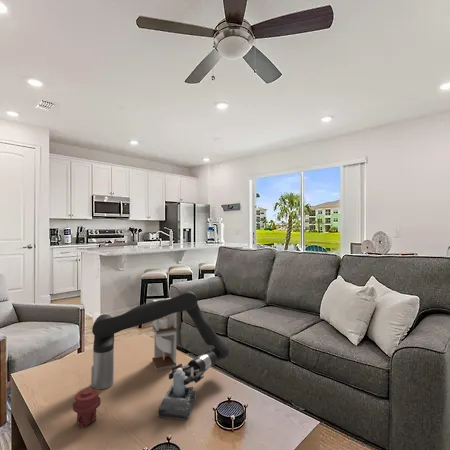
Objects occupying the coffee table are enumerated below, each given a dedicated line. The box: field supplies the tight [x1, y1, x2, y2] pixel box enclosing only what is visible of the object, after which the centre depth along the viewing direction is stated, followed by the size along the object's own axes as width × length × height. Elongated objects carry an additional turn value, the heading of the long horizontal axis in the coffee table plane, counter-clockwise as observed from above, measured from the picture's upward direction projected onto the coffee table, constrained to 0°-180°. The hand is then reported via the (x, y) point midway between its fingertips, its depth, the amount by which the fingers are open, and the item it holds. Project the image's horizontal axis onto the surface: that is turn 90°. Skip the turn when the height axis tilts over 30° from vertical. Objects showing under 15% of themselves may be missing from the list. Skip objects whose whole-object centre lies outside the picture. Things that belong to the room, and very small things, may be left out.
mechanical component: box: [72, 388, 101, 428], centre depth 121 cm, size 12×10×10 cm
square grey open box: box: [157, 384, 196, 421], centre depth 130 cm, size 12×14×6 cm
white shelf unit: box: [151, 297, 178, 371], centre depth 170 cm, size 11×11×35 cm
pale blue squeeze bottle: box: [172, 368, 186, 398], centre depth 132 cm, size 5×5×12 cm
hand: (176, 380), depth 131 cm, fingers open, 8 cm apart
